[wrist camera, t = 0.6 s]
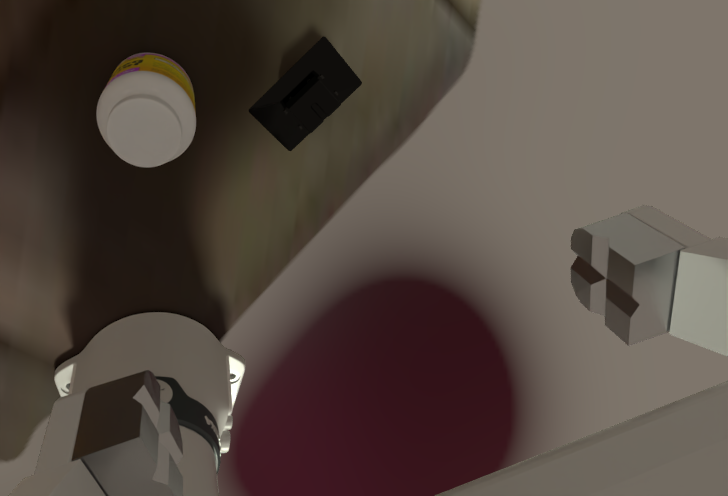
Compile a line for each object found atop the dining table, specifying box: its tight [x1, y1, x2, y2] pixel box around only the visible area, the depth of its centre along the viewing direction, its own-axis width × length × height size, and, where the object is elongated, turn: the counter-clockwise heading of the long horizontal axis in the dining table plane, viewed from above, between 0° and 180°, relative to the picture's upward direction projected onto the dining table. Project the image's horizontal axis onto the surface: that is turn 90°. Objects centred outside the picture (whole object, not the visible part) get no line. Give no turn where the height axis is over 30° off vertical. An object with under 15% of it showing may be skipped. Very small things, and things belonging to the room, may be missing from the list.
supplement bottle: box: [96, 53, 196, 168], centre depth 42 cm, size 7×7×13 cm
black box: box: [249, 37, 362, 151], centre depth 50 cm, size 12×7×5 cm, turn 130°
